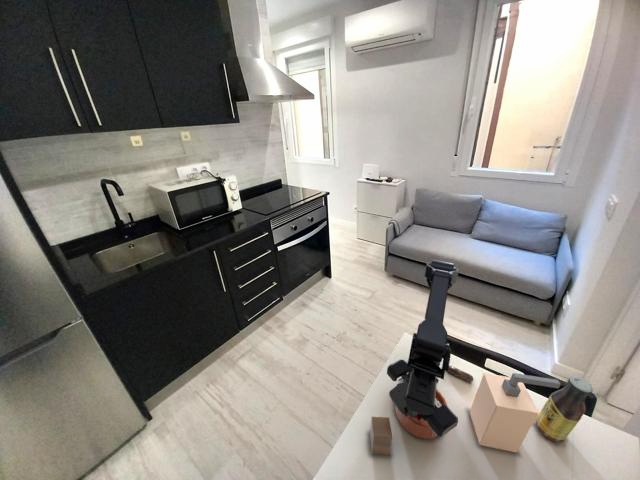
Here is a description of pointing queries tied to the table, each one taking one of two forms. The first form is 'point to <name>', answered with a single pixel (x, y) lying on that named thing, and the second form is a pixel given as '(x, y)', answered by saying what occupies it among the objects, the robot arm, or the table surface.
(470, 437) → the table surface
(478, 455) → the table surface
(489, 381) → the soap dispenser
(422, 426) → the bowl
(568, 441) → the table surface
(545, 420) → the sauce bottle
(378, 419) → the wooden stand
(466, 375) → the brown bumpy bar
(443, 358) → the robot arm
